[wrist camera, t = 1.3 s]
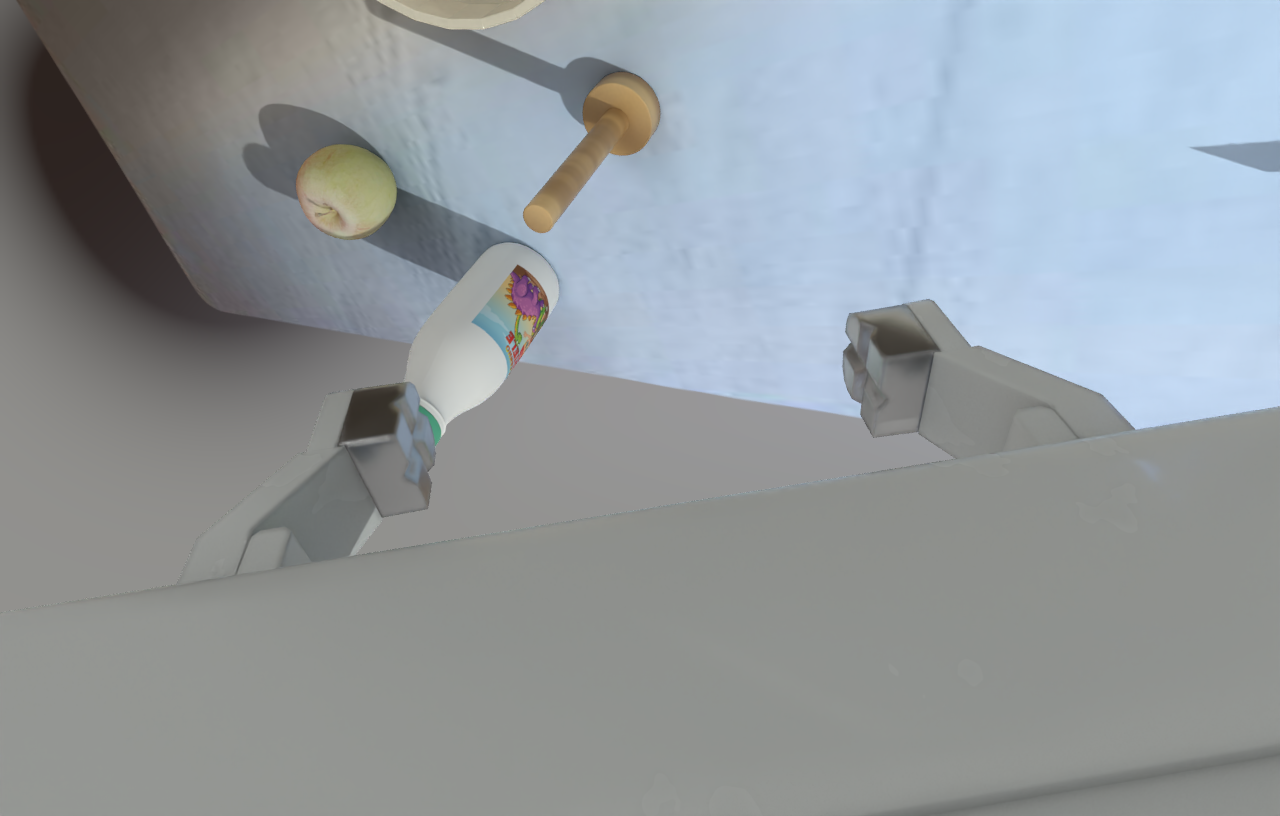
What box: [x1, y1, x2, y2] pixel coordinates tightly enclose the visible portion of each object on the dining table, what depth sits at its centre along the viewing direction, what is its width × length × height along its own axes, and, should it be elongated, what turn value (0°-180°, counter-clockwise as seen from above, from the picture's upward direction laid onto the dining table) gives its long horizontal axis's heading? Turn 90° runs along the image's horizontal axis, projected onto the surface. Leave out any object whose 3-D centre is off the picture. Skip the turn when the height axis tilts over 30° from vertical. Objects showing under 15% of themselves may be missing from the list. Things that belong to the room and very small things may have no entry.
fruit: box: [296, 144, 397, 240], centre depth 59 cm, size 8×7×8 cm
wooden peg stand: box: [523, 72, 660, 233], centre depth 45 cm, size 5×5×15 cm
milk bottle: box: [404, 242, 559, 446], centre depth 58 cm, size 8×8×20 cm
